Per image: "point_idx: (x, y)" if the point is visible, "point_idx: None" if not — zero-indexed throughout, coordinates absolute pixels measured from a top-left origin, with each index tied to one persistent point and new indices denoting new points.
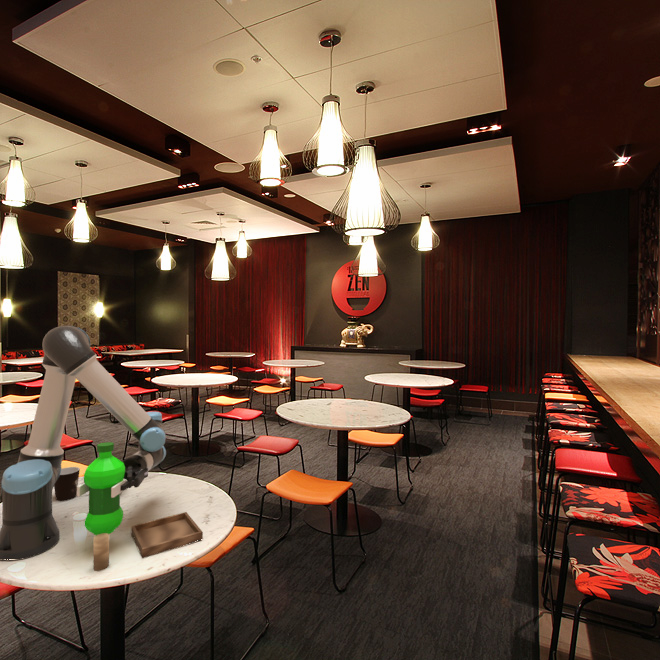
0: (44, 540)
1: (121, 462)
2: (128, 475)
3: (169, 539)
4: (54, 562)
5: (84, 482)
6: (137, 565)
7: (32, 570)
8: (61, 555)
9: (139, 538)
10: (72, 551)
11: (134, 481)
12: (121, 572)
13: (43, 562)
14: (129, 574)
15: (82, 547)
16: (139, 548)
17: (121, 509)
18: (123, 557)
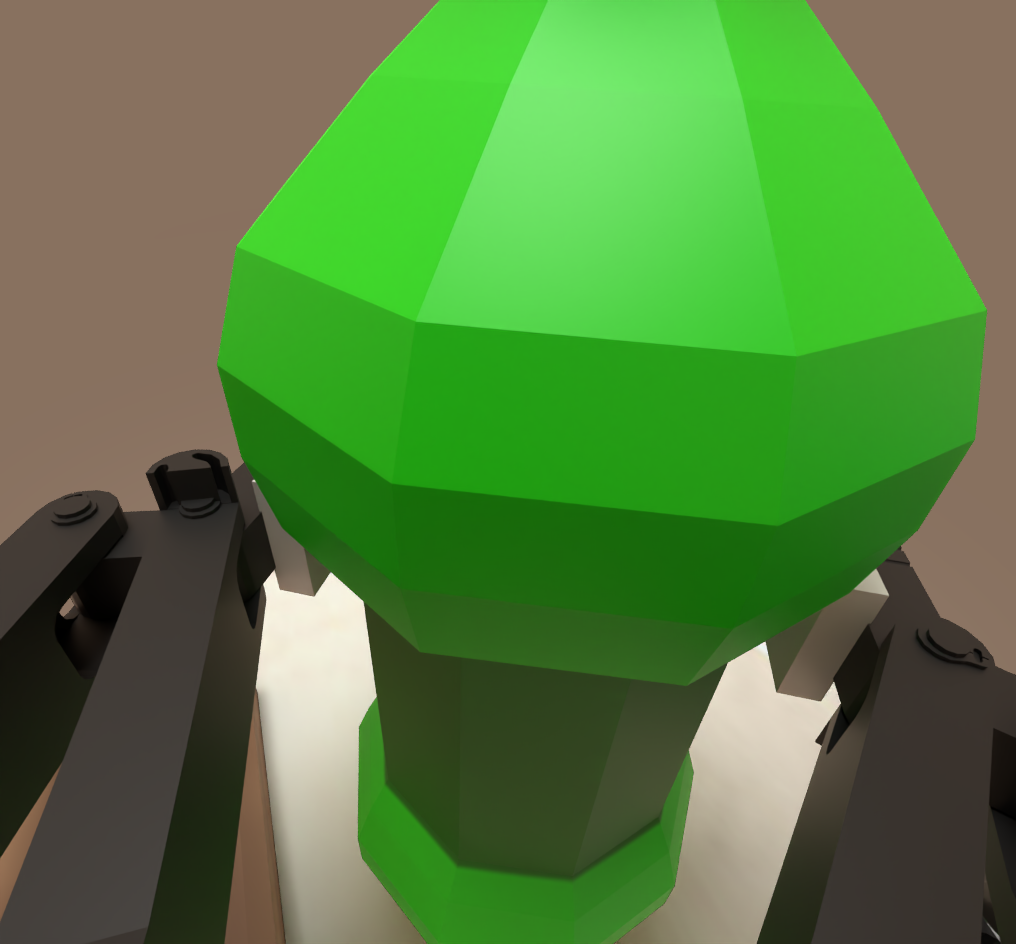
0: (991, 927)
1: (282, 188)
2: (177, 680)
3: (16, 876)
4: (729, 753)
5: (911, 572)
6: (287, 636)
7: (783, 698)
8: (750, 833)
9: (247, 811)
10: (714, 880)
11: (134, 518)
12: (357, 602)
13: (795, 767)
14: (324, 583)
15: (678, 937)
16: (262, 757)
17: (369, 776)
18: (359, 723)
